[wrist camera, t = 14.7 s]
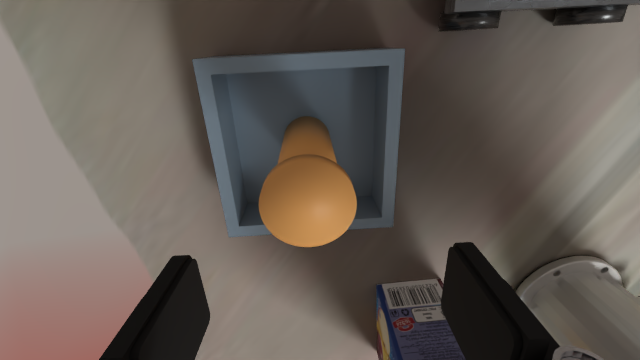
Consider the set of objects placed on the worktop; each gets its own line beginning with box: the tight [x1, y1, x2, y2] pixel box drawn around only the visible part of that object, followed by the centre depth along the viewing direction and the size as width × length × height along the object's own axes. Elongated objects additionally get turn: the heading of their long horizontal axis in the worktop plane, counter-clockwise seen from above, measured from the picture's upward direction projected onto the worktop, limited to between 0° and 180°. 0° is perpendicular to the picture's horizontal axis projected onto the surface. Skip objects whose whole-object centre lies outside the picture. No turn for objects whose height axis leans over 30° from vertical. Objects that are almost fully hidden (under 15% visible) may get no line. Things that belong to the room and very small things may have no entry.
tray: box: [192, 48, 405, 237], centre depth 25 cm, size 14×14×5 cm
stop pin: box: [259, 116, 357, 247], centre depth 21 cm, size 5×5×12 cm
